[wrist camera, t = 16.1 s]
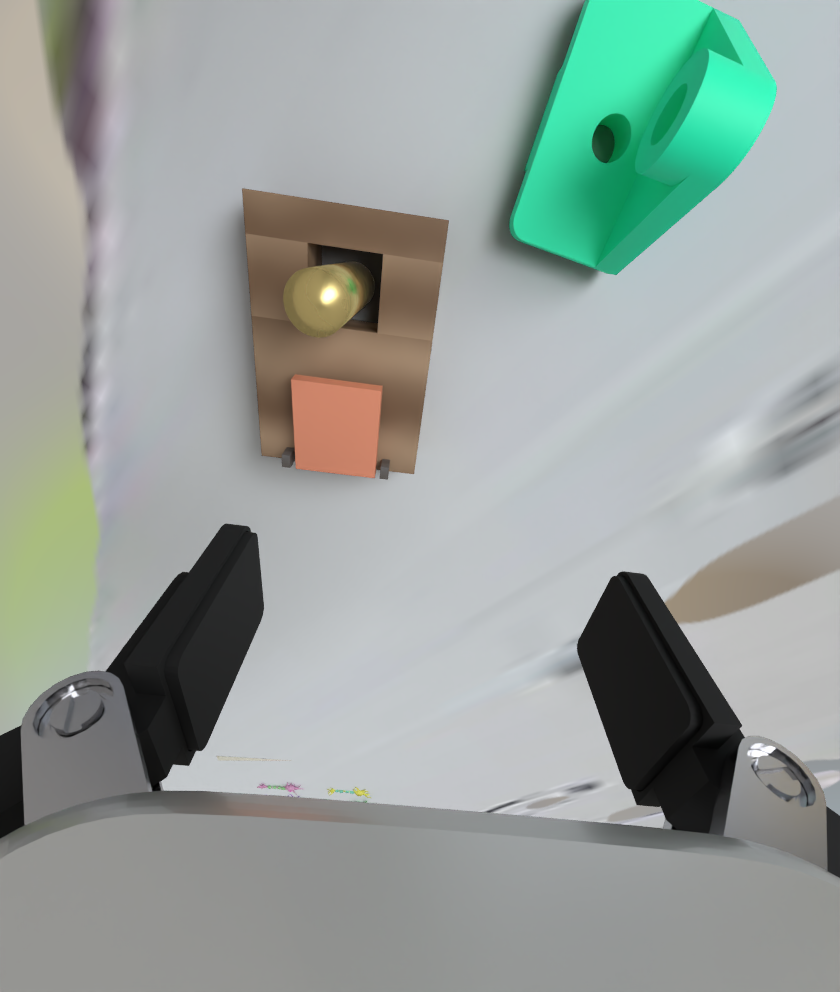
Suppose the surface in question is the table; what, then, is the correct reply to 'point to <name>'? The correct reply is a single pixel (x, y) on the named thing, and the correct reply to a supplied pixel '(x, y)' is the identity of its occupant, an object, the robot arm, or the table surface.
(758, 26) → the table surface
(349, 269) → the brass pin
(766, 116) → the camera mount
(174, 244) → the table surface
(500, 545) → the table surface
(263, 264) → the hitch block
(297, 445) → the orange flat plate
